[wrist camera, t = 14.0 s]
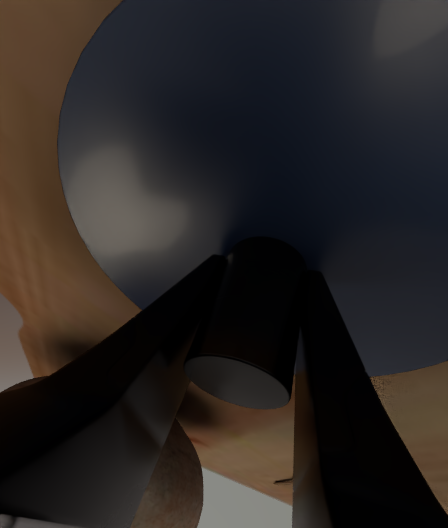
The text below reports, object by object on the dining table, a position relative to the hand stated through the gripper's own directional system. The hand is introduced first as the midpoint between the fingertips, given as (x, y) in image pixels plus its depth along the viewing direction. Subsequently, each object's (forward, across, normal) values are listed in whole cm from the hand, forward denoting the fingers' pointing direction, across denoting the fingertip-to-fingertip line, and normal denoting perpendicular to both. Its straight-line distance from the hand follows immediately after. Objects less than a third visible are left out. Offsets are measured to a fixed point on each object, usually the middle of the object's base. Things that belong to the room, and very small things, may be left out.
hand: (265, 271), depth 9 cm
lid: (+1, 0, 0) cm, 1 cm away
